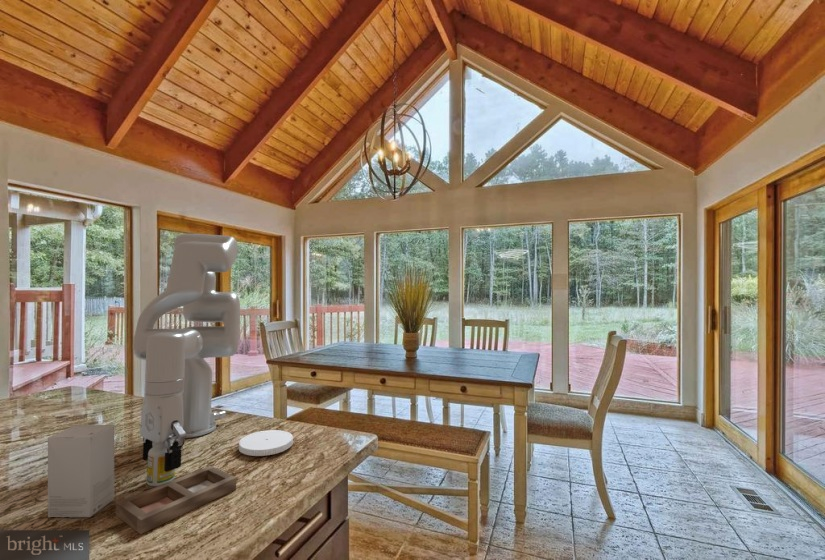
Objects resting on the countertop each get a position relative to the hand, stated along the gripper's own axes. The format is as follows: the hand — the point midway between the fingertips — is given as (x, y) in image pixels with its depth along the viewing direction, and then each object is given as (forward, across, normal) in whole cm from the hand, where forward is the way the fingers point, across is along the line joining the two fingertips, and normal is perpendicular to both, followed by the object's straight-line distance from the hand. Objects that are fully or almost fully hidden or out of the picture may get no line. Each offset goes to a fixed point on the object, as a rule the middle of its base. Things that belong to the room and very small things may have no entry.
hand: (161, 463), depth 86 cm
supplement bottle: (+4, 0, 0) cm, 4 cm away
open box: (+4, +12, -2) cm, 13 cm away
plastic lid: (+4, +4, +25) cm, 26 cm away
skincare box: (+4, -1, -14) cm, 15 cm away
